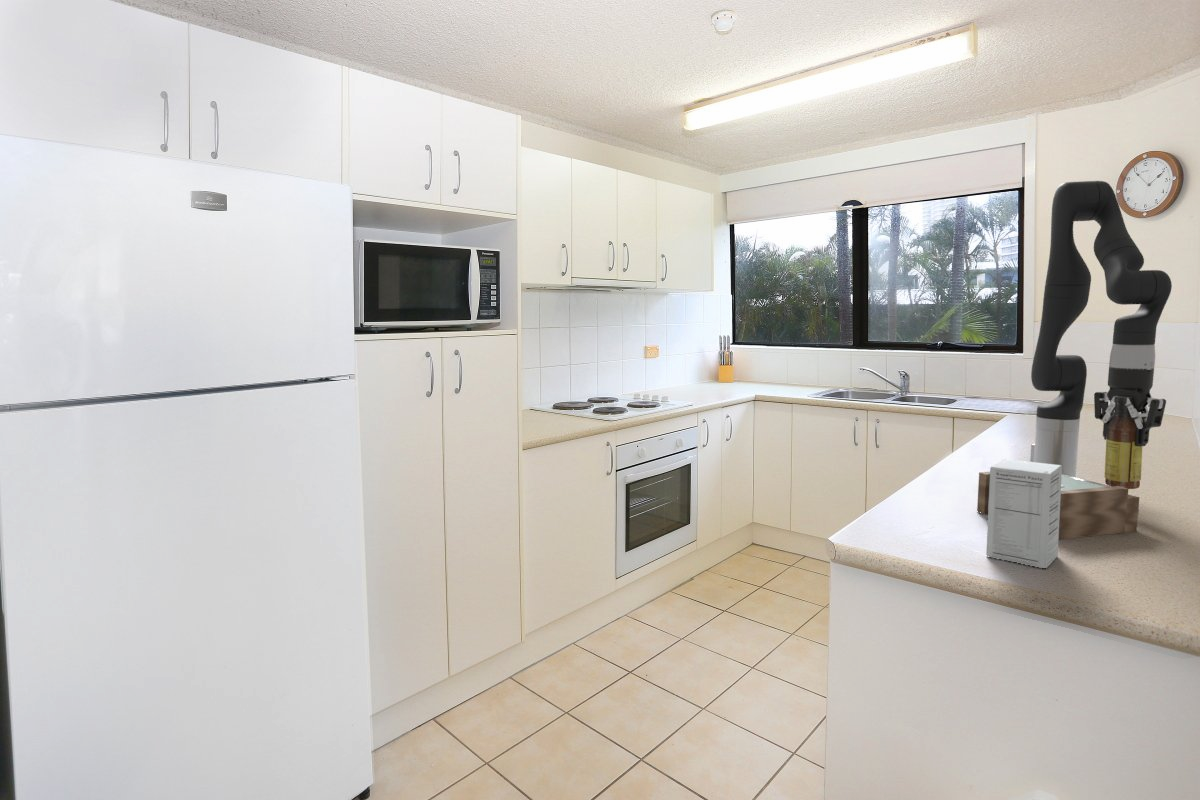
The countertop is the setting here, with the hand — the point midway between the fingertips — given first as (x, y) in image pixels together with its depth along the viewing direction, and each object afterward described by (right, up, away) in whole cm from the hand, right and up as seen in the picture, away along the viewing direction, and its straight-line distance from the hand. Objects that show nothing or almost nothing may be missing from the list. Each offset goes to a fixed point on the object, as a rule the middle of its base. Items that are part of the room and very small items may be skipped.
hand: (1124, 442), depth 142 cm
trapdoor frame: (-18, -16, -3) cm, 24 cm away
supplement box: (-37, -19, -24) cm, 48 cm away
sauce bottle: (0, -10, +1) cm, 10 cm away
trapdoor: (-19, -9, -4) cm, 21 cm away
